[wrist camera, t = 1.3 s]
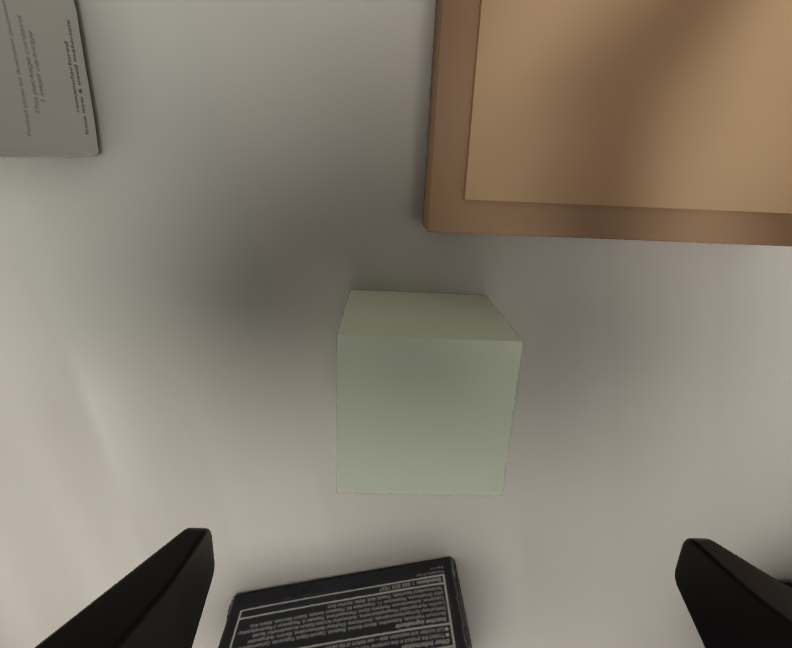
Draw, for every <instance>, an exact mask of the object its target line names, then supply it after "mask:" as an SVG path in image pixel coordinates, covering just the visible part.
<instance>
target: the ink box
mask: <svg viewBox="0 0 792 648" xmlns="http://www.w3.org/2000/svg"><path fill="white" fill-rule="evenodd" d="M98 152H99V151H98V144H97V135H96V128H95V121H94V114H93V108H92V103H91V96H90V89H89V84H88V79H87V73H86V67H85V61H84V55H83V49H82V43H81V37H80V31H79V24H78V18H77V12H76V7H75V3H74V0H0V157H79V156H95V155H97V154H98Z"/></svg>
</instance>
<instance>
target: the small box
mask: <svg viewBox="0 0 792 648" xmlns="http://www.w3.org/2000/svg"><path fill="white" fill-rule="evenodd" d="M218 648H472V646H471V640H470V635H469V629H468V624H467V619H466V614H465V609H464V604H463V599H462V595H461V589H460V584H459V579H458V574H457V570H456V564H455V561H454V560H453V559H451V558H445V559H439V560H433V561H428V562H421V563H416V564H411V565H405V566H400V567H394V568H389V569H383V570H378V571H371V572H366V573H361V574H355V575H349V576H344V577H338V578H333V579H327V580H322V581H316V582H310V583H305V584H300V585H293V586H288V587H282V588H276V589H271V590H266V591H260V592H254V593H249V594H243V595H238V596H235V597H234V599H233V600H232V603H231V604H230V606H229V610H228V615H227V622H226V625H225V628H224V631H223V634H222V637H221V640H220V644H219V647H218Z"/></svg>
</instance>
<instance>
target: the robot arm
mask: <svg viewBox="0 0 792 648" xmlns="http://www.w3.org/2000/svg"><path fill="white" fill-rule="evenodd" d="M213 573H214V553H213V543H212V535H211V532H210V530H209V529H207V528H187V529H185V530H184V531H182V532H181V533H180V534H179V535H177V536H176V537H175V538H173V539H172V540H171V541H170V542H168V543H167V544H166V545H165V546H163V547H162V548H161V549H159V550H158V551H157V552H156V553H154V554H153V555H152V556H151V557H149V558H148V559H147V560H145V561H144V562H143V563H142V564H140V565H139V566H138V567H137V568H135V569H134V570H133V571H131V572H130V573H129V574H128V575H126V576H125V577H124V578H123V579H121V580H120V581H119V582H118V583H116V584H115V585H114V586H112V587H111V588H110V589H109V590H107V591H106V592H105V593H104V594H102V595H101V596H100V597H98V598H97V599H96V600H95V601H93V602H92V603H91V604H90V605H88V606H87V607H86V608H84V609H83V610H82V611H81V612H79V613H78V614H77V615H76V616H74V617H73V618H72V619H70V620H69V621H68V622H67V623H65V624H64V625H63V626H62V627H60V628H59V629H58V630H56V631H55V632H54V633H53V634H51V635H50V636H49V637H48V638H46V639H45V640H44V641H43V642H41V643H40V644H39V645H37V646H36V647H35V648H192V645H193V641H194V638H195V635H196V631H197V628H198V625H199V621H200V618H201V615H202V611H203V608H204V604H205V601H206V598H207V594H208V591H209V588H210V584H211V581H212V578H213ZM675 580H676V583H677V586H678V589H679V591H680V593H681V595H682V597H683V600H684V602H685V604H686V606H687V608H688V611H689V613H690V615H691V617H692V619H693V622H694V624H695V626H696V628H697V631H698V633H699V635H700V637H701V639H702V642H703V644H704V646H705V648H792V583H781V582H779V581H778V580H776V579H774V578H773V577H771V576H769V575H768V574H766V573H764V572H763V571H761V570H760V569H758V568H756V567H755V566H753V565H751V564H750V563H748V562H747V561H745V560H743V559H742V558H740V557H738V556H737V555H735V554H733V553H732V552H730V551H729V550H727V549H725V548H724V547H722V546H720V545H719V544H717V543H715V542H714V541H712V540H710V539H704V538H689V539H686V540H685V541H684V543H683V545H682V549H681V552H680V555H679V559H678V562H677V566H676V569H675Z"/></svg>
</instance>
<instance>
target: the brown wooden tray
mask: <svg viewBox="0 0 792 648" xmlns="http://www.w3.org/2000/svg"><path fill="white" fill-rule="evenodd" d="M423 225H424V226H425V228H426V229H427V231H428V232H452V233H477V234H501V235H526V236H551V237H575V238H600V239H624V240H649V241H674V242H698V243H723V244H748V245H772V246H792V0H436V10H435V27H434V43H433V60H432V77H431V94H430V110H429V127H428V144H427V161H426V177H425V194H424V211H423Z"/></svg>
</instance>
